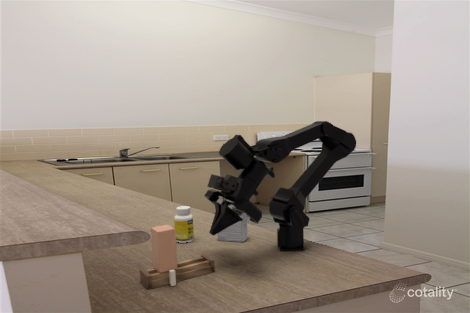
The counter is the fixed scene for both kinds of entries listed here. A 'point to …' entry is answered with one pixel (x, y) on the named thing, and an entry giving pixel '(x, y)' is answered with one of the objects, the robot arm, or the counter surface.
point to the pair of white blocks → (172, 277)
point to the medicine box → (235, 231)
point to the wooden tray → (178, 272)
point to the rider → (164, 248)
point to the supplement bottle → (184, 225)
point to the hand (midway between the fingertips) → (211, 234)
